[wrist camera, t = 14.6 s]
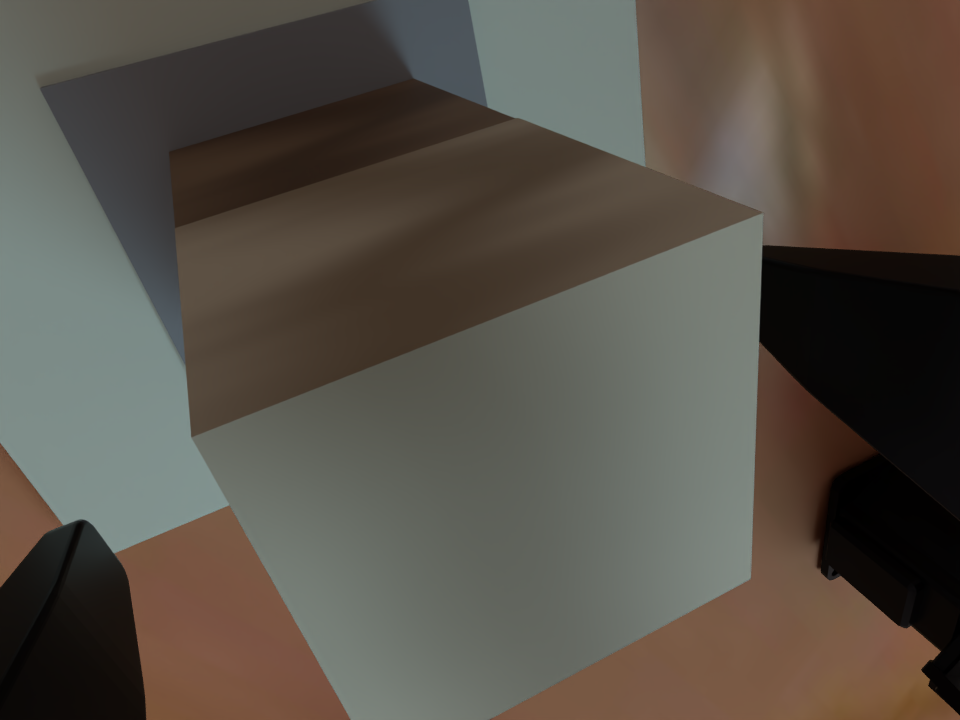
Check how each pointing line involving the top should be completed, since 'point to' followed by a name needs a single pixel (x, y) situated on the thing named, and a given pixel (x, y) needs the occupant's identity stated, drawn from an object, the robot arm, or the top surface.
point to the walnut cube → (317, 146)
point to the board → (149, 202)
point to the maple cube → (480, 410)
